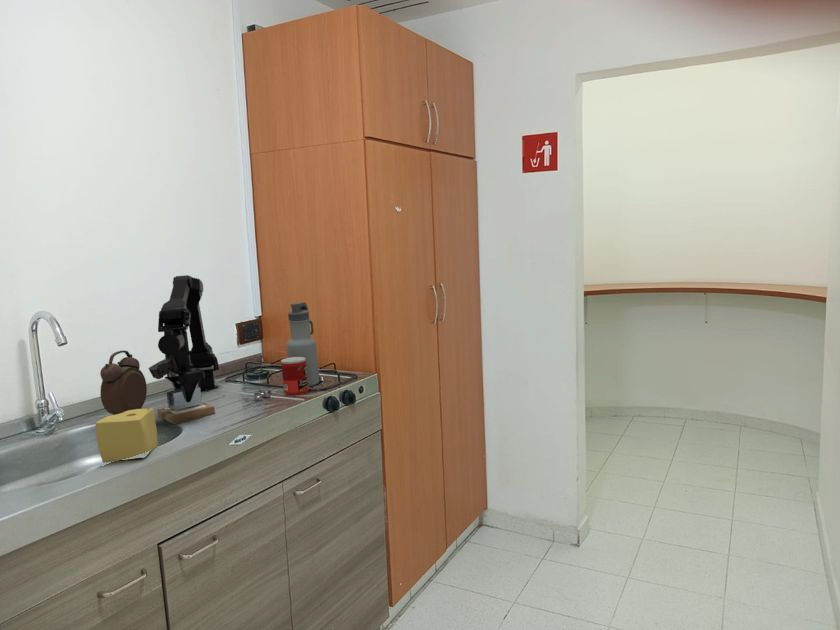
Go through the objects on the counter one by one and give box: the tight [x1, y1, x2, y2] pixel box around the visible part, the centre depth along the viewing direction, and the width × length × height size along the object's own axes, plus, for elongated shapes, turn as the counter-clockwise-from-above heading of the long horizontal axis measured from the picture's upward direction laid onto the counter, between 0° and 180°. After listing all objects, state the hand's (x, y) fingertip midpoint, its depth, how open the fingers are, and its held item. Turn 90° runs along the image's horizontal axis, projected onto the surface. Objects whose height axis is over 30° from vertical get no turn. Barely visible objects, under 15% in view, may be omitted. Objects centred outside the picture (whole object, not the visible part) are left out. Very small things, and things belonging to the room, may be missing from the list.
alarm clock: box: [99, 350, 148, 415], centre depth 183 cm, size 14×7×20 cm, turn 171°
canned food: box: [280, 357, 309, 396], centre depth 200 cm, size 8×8×11 cm
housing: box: [166, 386, 203, 410], centre depth 181 cm, size 8×5×5 cm, turn 134°
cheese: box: [95, 407, 158, 463], centre depth 149 cm, size 10×11×10 cm
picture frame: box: [156, 401, 216, 425], centre depth 181 cm, size 12×12×2 cm
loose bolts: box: [253, 389, 272, 402], centre depth 197 cm, size 6×8×2 cm
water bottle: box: [286, 301, 320, 388], centre depth 209 cm, size 10×10×28 cm
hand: (184, 400), depth 181 cm, fingers closed on housing, 5 cm apart
